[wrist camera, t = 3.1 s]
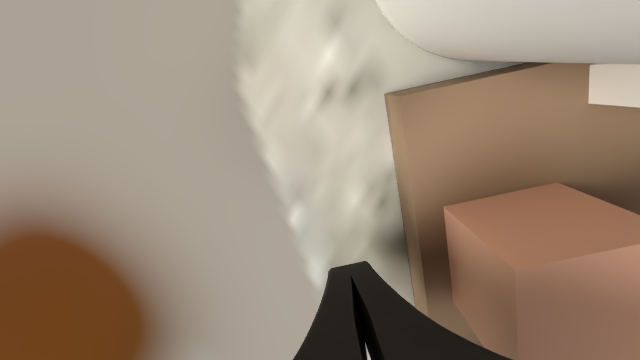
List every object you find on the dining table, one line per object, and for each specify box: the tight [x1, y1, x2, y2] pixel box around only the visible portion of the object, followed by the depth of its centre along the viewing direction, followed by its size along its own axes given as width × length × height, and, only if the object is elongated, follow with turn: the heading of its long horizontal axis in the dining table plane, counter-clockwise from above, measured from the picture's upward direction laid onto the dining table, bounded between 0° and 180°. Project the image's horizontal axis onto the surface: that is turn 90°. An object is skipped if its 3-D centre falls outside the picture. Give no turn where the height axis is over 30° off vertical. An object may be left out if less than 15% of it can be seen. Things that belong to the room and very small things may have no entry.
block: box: [444, 182, 640, 360], centre depth 10 cm, size 4×4×4 cm
